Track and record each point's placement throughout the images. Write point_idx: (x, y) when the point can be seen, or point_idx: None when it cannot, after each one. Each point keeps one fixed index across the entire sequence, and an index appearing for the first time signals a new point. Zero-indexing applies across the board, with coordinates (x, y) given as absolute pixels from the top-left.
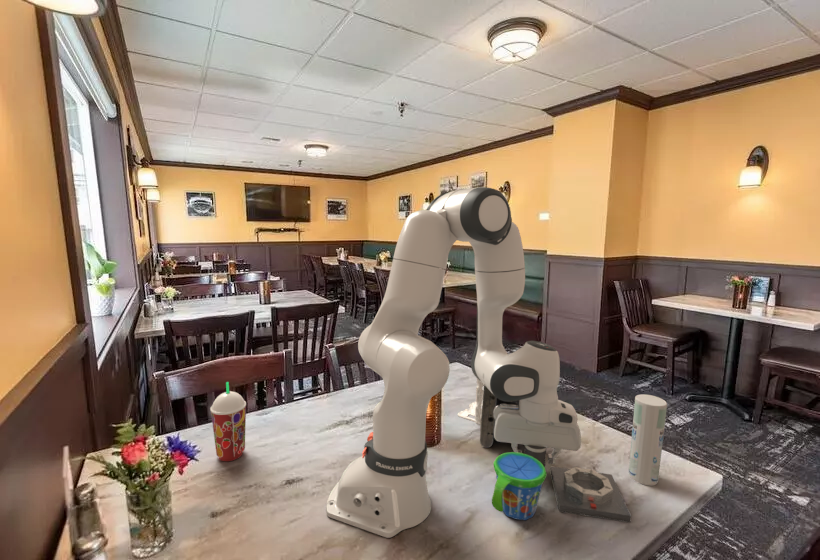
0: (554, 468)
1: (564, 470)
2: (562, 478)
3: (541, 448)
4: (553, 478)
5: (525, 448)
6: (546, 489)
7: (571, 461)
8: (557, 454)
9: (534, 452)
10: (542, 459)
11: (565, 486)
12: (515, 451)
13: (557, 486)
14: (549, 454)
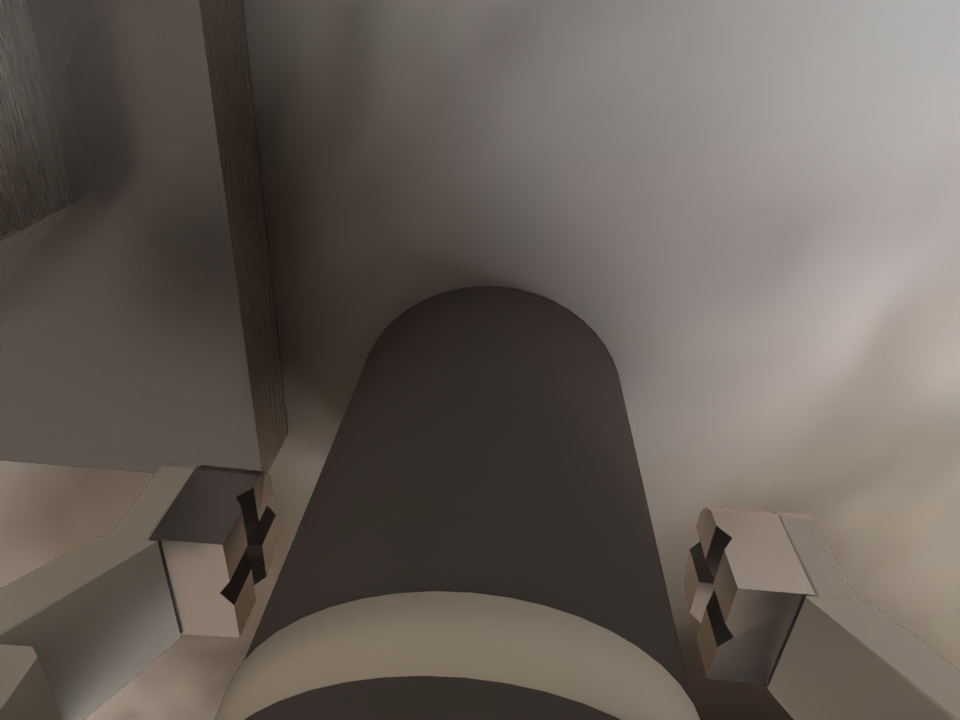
0: (212, 447)
1: (82, 425)
2: (94, 245)
3: (316, 708)
4: (227, 226)
5: (692, 703)
6: (363, 54)
7: None
8: (13, 599)
9: (520, 592)
10: (348, 487)
11: (20, 12)
12: (883, 629)
13: (160, 4)
14: (214, 620)
